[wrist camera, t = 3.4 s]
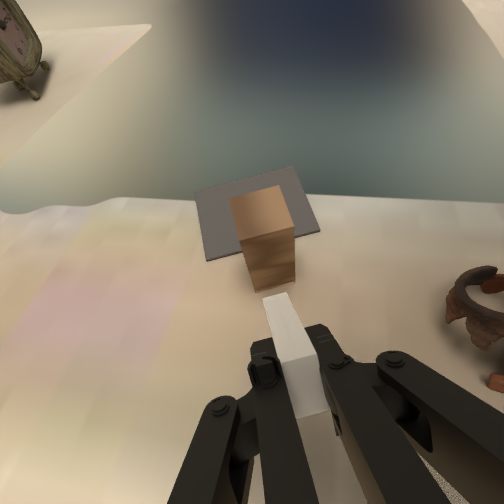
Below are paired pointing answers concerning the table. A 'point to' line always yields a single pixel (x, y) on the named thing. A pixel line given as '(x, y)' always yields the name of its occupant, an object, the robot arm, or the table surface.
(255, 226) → the walnut block
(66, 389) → the table surface
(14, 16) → the tabletop clock
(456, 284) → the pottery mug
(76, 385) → the table surface
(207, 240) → the rubber mat
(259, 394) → the robot arm
